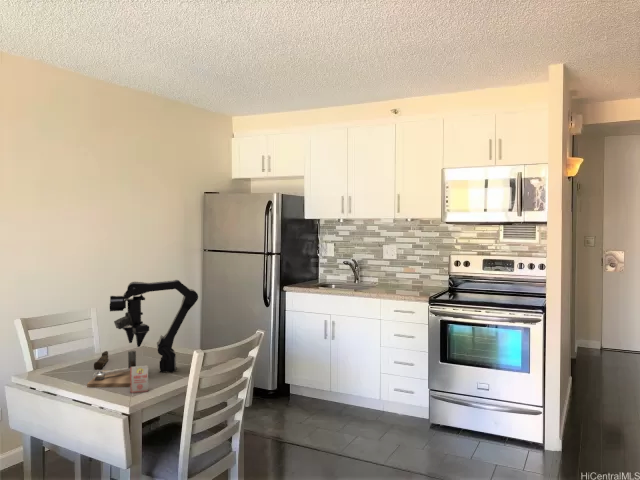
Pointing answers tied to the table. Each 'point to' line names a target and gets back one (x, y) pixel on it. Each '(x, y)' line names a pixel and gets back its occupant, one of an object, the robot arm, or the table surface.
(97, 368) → the hand tool
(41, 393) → the table surface
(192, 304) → the robot arm
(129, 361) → the lever
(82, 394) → the table surface
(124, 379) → the lever board
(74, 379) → the table surface
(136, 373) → the white red carton
